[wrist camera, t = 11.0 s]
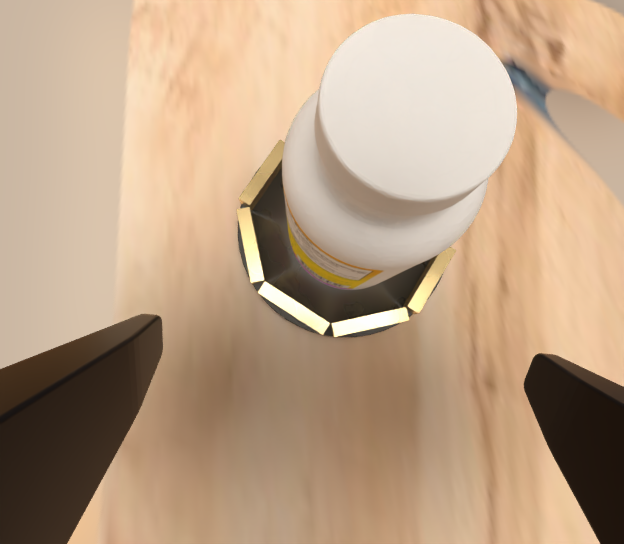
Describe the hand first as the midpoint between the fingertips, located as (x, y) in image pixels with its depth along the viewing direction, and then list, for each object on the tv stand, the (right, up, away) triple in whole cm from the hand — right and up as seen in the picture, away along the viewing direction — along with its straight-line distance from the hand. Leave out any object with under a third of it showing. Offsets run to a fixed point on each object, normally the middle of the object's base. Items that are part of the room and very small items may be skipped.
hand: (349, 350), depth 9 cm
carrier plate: (+1, +4, +13) cm, 14 cm away
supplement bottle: (+1, +4, +13) cm, 13 cm away
